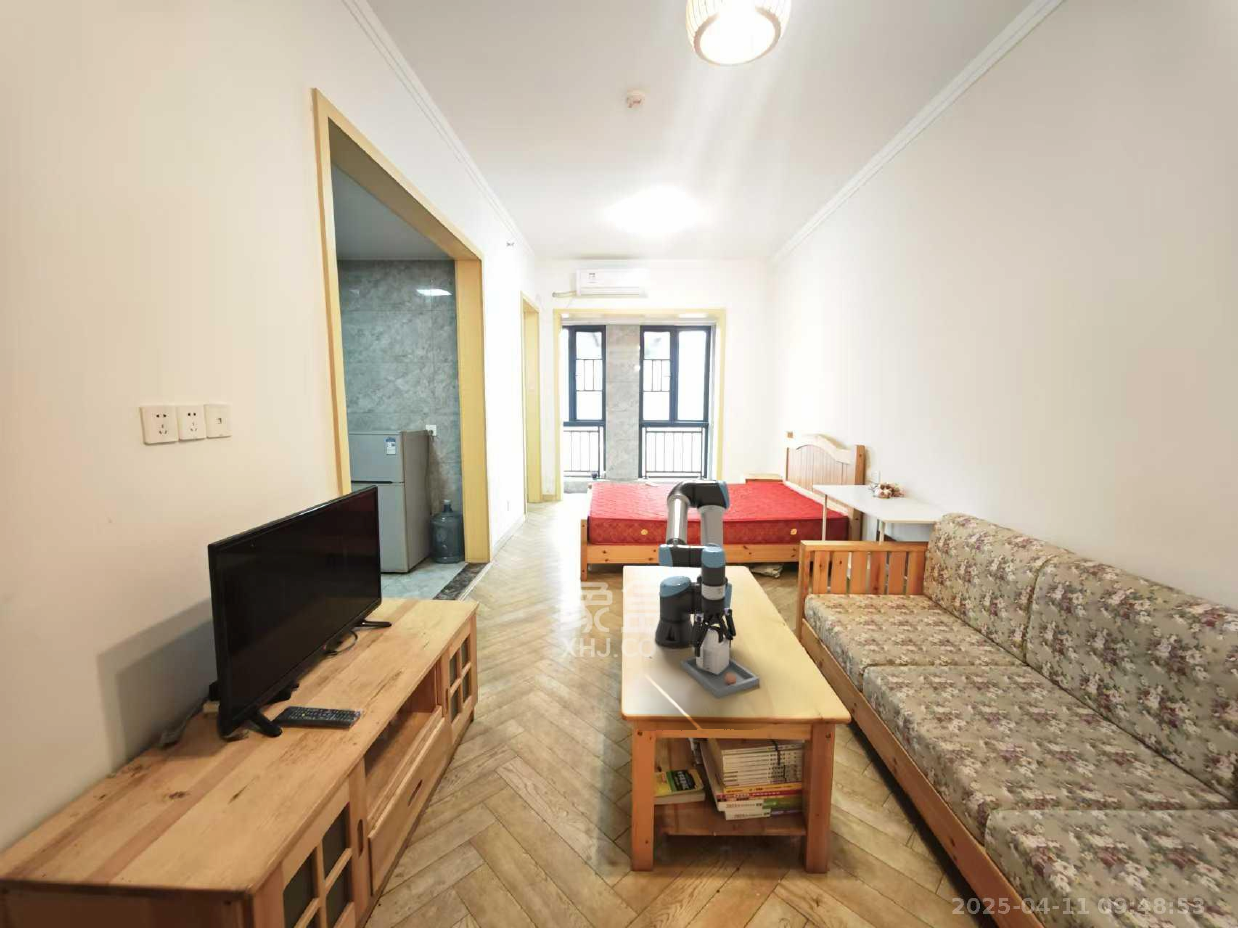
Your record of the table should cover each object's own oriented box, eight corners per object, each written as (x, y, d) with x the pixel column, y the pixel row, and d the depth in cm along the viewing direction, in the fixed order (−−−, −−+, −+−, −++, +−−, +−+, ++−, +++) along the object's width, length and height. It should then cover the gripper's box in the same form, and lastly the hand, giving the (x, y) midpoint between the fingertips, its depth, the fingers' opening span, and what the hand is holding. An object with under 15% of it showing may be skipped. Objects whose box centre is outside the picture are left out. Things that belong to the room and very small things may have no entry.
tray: (680, 669, 159) (680, 660, 158) (719, 657, 166) (719, 649, 165) (717, 701, 141) (717, 691, 141) (759, 687, 148) (759, 677, 147)
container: (708, 657, 161) (708, 621, 160) (729, 665, 156) (729, 627, 155) (696, 667, 155) (696, 629, 154) (718, 675, 150) (718, 636, 149)
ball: (722, 682, 149) (722, 672, 148) (731, 680, 150) (731, 669, 150) (729, 688, 145) (729, 677, 145) (738, 685, 147) (738, 674, 147)
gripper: (690, 606, 145) (690, 675, 147) (748, 593, 155) (747, 658, 157) (677, 597, 152) (677, 664, 154) (733, 586, 161) (732, 648, 164)
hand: (712, 661), depth 156 cm, fingers closed on container, 10 cm apart
